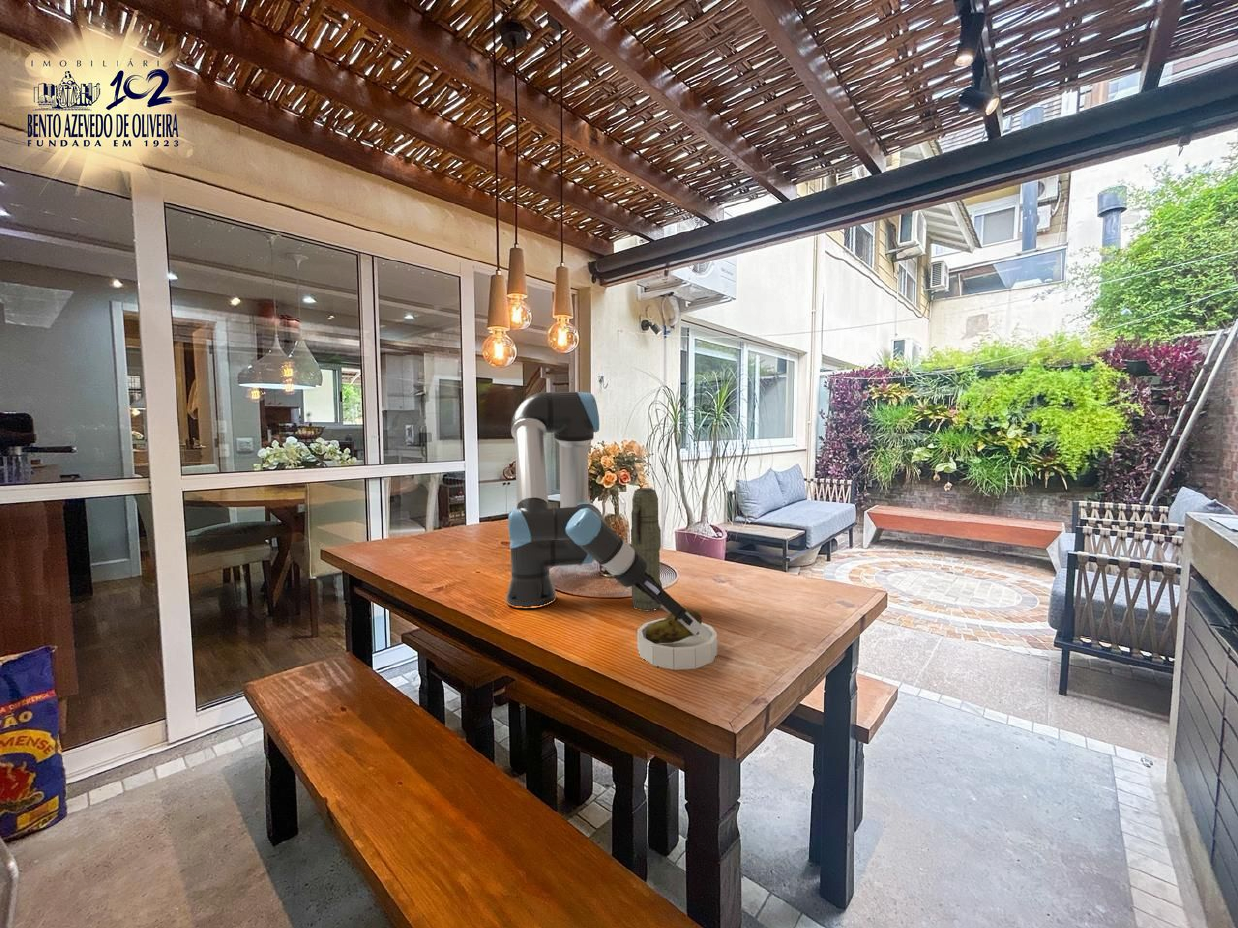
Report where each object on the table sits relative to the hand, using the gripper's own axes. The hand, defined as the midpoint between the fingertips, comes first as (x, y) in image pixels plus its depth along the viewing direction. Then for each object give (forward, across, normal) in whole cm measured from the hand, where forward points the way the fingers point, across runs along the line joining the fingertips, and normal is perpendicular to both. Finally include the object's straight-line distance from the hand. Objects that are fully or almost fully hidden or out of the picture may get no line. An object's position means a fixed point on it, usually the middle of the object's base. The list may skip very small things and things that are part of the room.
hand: (689, 623), depth 115 cm
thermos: (+6, -31, -3) cm, 31 cm away
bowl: (+2, 0, -7) cm, 7 cm away
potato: (0, 0, -6) cm, 6 cm away
